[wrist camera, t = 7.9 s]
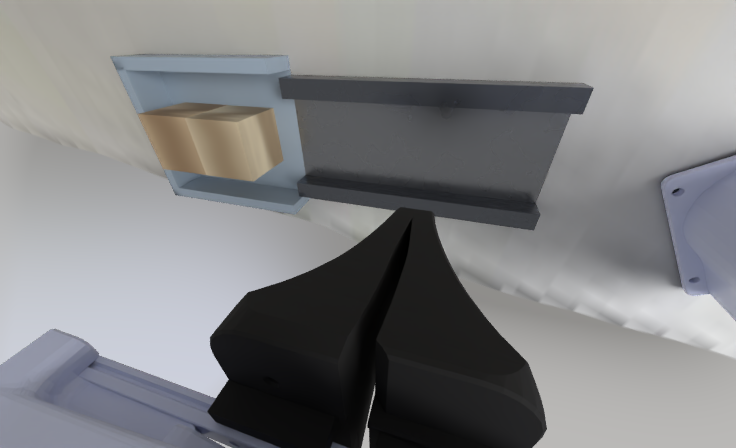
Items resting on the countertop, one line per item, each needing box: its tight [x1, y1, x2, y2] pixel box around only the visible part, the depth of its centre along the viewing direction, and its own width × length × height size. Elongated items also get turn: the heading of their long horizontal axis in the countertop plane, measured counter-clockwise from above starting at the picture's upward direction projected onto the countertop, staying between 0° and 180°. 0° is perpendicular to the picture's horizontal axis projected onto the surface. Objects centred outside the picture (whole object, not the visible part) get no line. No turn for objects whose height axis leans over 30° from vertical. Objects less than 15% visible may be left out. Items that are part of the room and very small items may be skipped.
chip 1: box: [138, 102, 226, 175], centre depth 21 cm, size 4×4×4 cm
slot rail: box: [278, 75, 593, 230], centre depth 18 cm, size 17×8×2 cm, turn 91°
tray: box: [110, 54, 310, 214], centre depth 21 cm, size 12×11×3 cm
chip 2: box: [185, 105, 284, 182], centre depth 20 cm, size 4×4×4 cm
